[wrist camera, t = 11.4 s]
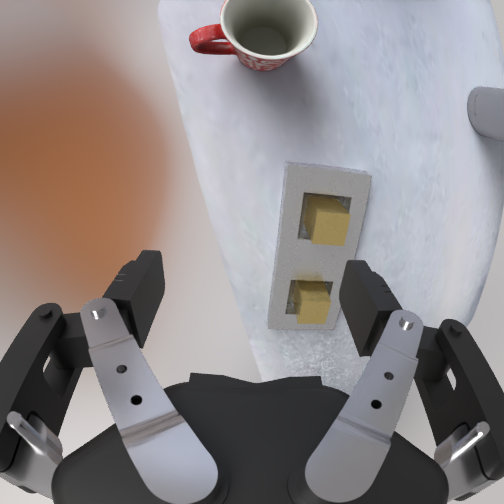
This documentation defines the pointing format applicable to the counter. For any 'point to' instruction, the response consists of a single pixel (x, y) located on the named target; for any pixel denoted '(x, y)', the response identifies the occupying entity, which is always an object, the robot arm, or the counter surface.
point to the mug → (259, 32)
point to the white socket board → (300, 246)
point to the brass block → (311, 302)
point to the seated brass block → (326, 220)
